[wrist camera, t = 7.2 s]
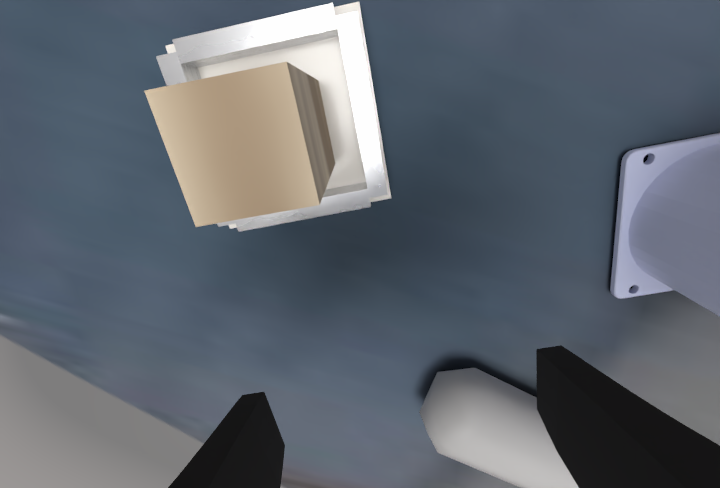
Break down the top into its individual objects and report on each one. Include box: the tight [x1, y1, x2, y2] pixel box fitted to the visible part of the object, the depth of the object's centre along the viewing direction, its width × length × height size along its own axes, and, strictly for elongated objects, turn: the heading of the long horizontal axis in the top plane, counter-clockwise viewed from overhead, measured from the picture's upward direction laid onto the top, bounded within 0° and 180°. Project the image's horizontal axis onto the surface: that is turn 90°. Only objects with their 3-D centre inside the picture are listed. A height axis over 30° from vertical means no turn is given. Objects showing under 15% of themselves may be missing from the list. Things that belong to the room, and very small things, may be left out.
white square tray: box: [156, 3, 388, 232], centre depth 15 cm, size 8×8×2 cm
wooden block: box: [145, 62, 335, 227], centre depth 12 cm, size 4×4×7 cm
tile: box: [166, 2, 391, 229], centre depth 16 cm, size 8×8×1 cm
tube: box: [419, 368, 579, 488], centre depth 22 cm, size 5×5×25 cm
